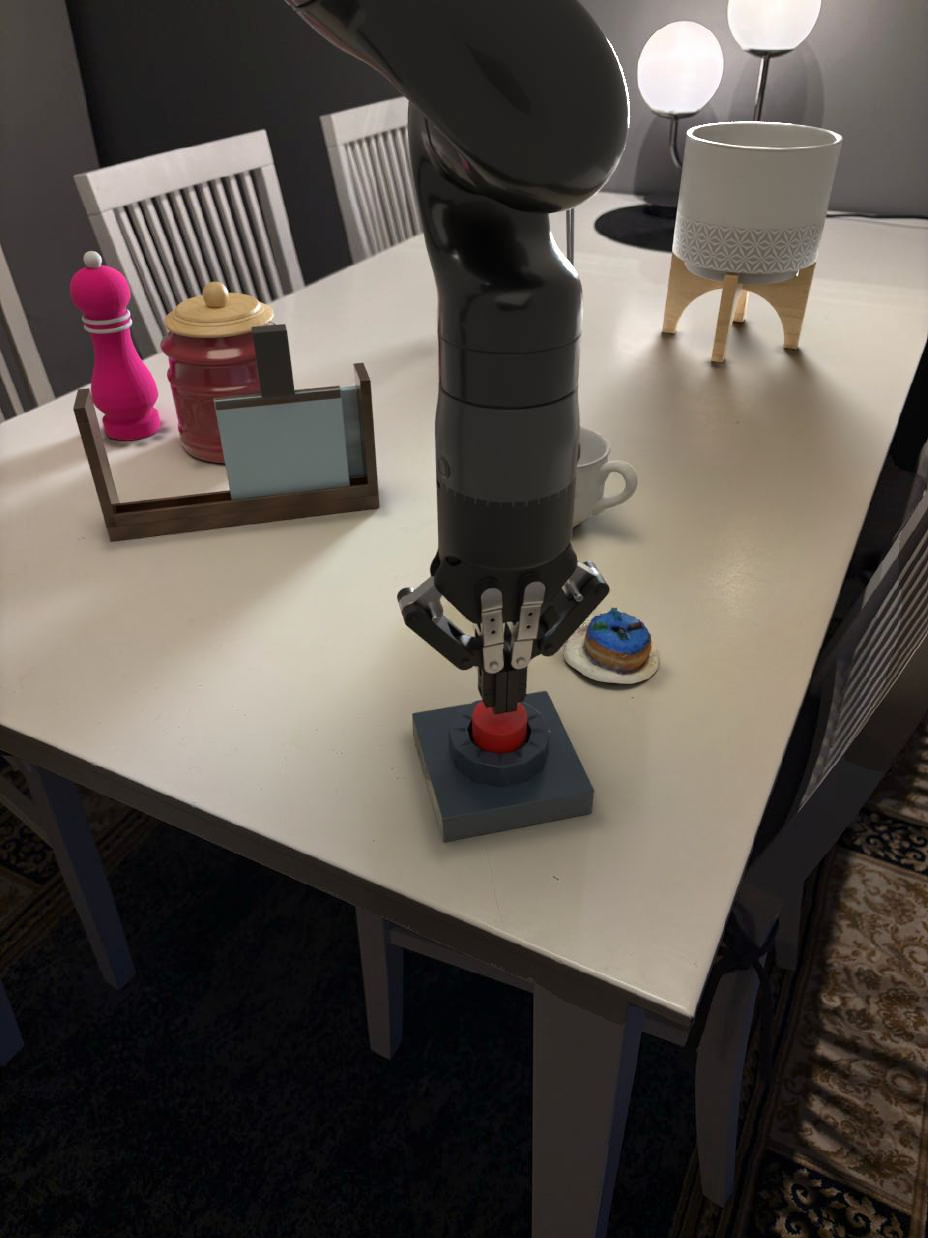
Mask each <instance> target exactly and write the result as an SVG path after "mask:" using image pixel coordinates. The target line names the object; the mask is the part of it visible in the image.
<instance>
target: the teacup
mask: <svg viewBox="0 0 928 1238" xmlns="http://www.w3.org/2000/svg"><path fill="white" fill-rule="evenodd" d="M579 443H580V447H581V452H580V458H579V461H578V464H577V477H576V491H575V505H574V518H573V528H574V527H577V526H578V525H580V524H582V522H584V521H586V520H588V519H589V518H591V517H592V516H593V515H601V514H602V513H604V512H605V510H606V509H609V508H614V507H617V506H619V505H621V504H624V503H626V502H627V501H628V500H630V499H631V498H632V497H633V496H634V494H635V493H636V490H637V488H638V484H639V482H638V481H639V480H638V475H637V472H636V470H635V468H634V467H633V466H632V465H631V464H630V463H628V462H627V461H624V460H620V459H615V460H614V459H613V460H610V461H609V456H610V452H611V444H610V441H609V440H608V439H607V438H606V437H605V436H603V435H602V434H600V433H599V432H597V431H595V430H593V429H590V428H587V427H584V426H581V425H580V436H579ZM611 473H617V474H619V475H621V476H622V478H623V479H624V483H625V488H624V489H623V490H622V491H621V492H619V493H618V494H616V495H612V496H605V497H604V493H605V488H606V482H607V480H608V477H609V476H610V474H611Z"/></svg>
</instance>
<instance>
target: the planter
mask: <svg viewBox="0 0 928 1238" xmlns="http://www.w3.org/2000/svg"><path fill="white" fill-rule="evenodd" d="M843 140H844V137H843V136H842V134H840V133H838V132H835V131H833V130H829V129H825V128H821V127H816V126H812V125H811V126H810V125H804V124H803V125H802V124H794V123H783V122H769V121H768V122H766V121H765V122H764V121H734V122H733V121H731V122H729V121H728V122H718V123H717V122H716V123H707V124H703V125H702V124H701V125H698V126H694V127H691V128H689V129H688V130H687V131H686V137H685V144H684V153H683V162H682V168H681V169H682V170H681V177H680V185H679V193H678V200H677V201H678V202H677V209H676V217H675V225H674V233H673V239H672V240H673V241H672V251H671V256H670V258H671V259H670V265H669V273H668V280H667V281H668V282H667V288H666V289H667V290H666V297H665V304H664V312H663V321H662V329H661V332H662V333H666V334H667V333H669V334H676V332H677V330H678V326H679V322H680V319H681V317H682V315H683V313H684V311H685V310H686V308H687V307H688V306H689V305H690V304H691V303H692V302H694V301H695V300H696V299H697V298H699V297H701V296H702V295H705V294H707V293H710V292H713V291H716V290H721V297H720V303H719V308H718V314H717V321H716V327H715V332H714V338H713V339H714V340H713V345H712V352H711V356H710V357H711V358H710V361H711V362H717V363H724V360H725V359H726V354H727V351H728V350H727V349H728V344H729V339H730V334H731V329H732V326H733V322H736V323H744V321H745V319H746V314H747V309H748V302H749V299H750V298H749V297H750V293H753V294H755V295H757V296H759V297H761V298H762V299H764V301H766V302H768V304H770V306H771V307H772V308H773V309H774V311H775V312H776V314H777V316H778V317H779V319H780V323H781V325H782V331H783V344H782V348H783V349H792V350H797V349H798V346H799V343H800V338H801V334H802V329H803V324H804V320H805V315H806V311H807V307H808V302H809V298H810V293H811V290H812V289H811V288H812V284H813V279H814V275H815V270H816V265H817V262H816V261H817V260H818V255H819V251H820V246H821V242H822V237H823V232H824V228H825V223H826V220H827V219H826V218H827V214H828V209H829V205H830V200H831V195H832V191H833V188H834V182H835V177H836V172H837V169H838V164H839V159H840V154H841V150H842V145H843V142H844V141H843Z"/></svg>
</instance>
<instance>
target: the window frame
mask: <svg viewBox="0 0 928 1238" xmlns="http://www.w3.org/2000/svg"><path fill="white" fill-rule="evenodd" d="M353 376H354V385H349V386H340V388H341V395H342V406H343V417H344V428H345V439H346V450H347V461H348V472H349V483H350V486H344V487H335V488H327V489H319V490H310V491H302V492H293V493H285V494H277V495H268V496H260V497H251V498H243V499H235V500H232V498H231V493H230V489H229V490H227V489H226V490H218V491H212V492H202V493H195V494H194V493H193V494H185V495H176V496H168V497H167V496H166V497H160V498H150V499H142V500H135V501H134V500H133V501H126V502H121V501H120V499H119V498H120V497H119V494H118V491H117V487H116V484H115V480H114V476H113V473H112V468H111V464H110V460H109V456H108V454H107V449H106V446H105V442H104V438H103V434H102V430H101V426H100V423H99V419H98V416H97V411H96V407H95V405H94V403H93V400H92V396H91V388H89V387H88V388H87V387H86V388H78V389H77V391H76V396H75V400H74V403H73V408H72V409H73V414H74V417H75V421H76V424H77V428H78V432H79V435H80V438H81V442H82V445H83V449H84V453H85V457H86V460H87V463H88V468H89V470H90V474H91V478H92V481H93V485H94V489H95V491H96V496H97V499H98V503H99V506H100V509H101V513H102V517H103V520H104V525H105V528H106V531H107V535H108V539H109V541H110V542H116V541H123V540H131V539H132V540H133V539H140V538H147V537H154V536H155V537H156V536H164V535H171V534H181V533H187V532H195V531H196V532H197V531H204V530H211V529H213V530H214V529H220V528H227V527H228V528H229V527H237V526H246V525H252V524H253V525H254V524H260V523H270V522H277V521H284V520H285V521H286V520H292V519H301V518H309V517H317V516H324V515H334V514H341V513H342V514H343V513H348V512H358V511H366V510H373V509H380V508H381V505H380V493H379V480H378V465H377V463H378V462H377V450H376V438H375V437H376V435H375V422H374V421H375V420H374V408H373V407H374V406H373V394H372V380H371V377H370V375H369V373H368V370H367V367H366V366H365V362H356V363H355V362H354V363H353Z"/></svg>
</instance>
